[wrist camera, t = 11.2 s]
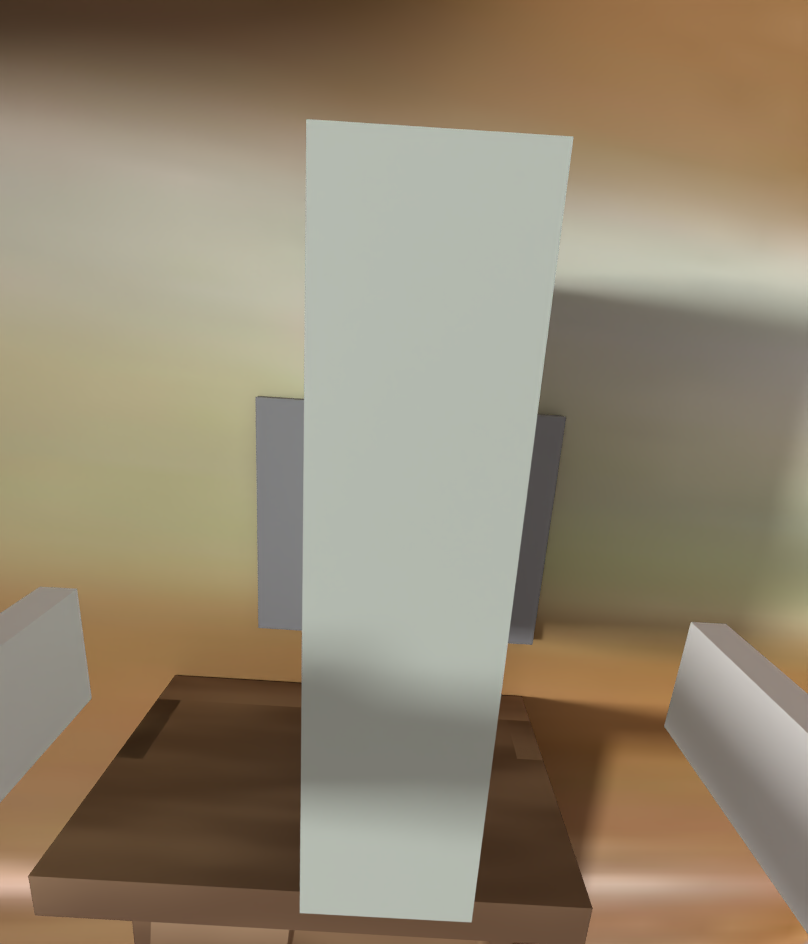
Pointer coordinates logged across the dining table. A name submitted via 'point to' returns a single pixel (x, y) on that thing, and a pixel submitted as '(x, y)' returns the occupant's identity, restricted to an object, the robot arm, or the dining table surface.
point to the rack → (285, 831)
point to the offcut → (216, 934)
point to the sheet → (414, 494)
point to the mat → (285, 516)
